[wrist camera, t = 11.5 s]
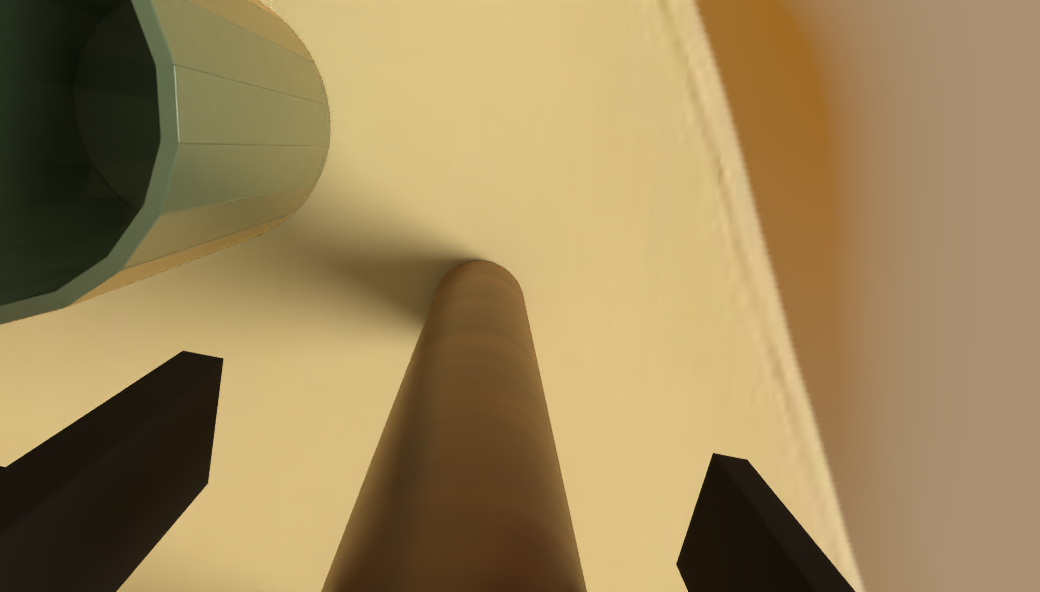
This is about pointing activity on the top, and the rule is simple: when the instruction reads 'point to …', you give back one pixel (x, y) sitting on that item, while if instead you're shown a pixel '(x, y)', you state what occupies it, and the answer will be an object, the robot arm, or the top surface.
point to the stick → (465, 460)
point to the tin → (145, 139)
